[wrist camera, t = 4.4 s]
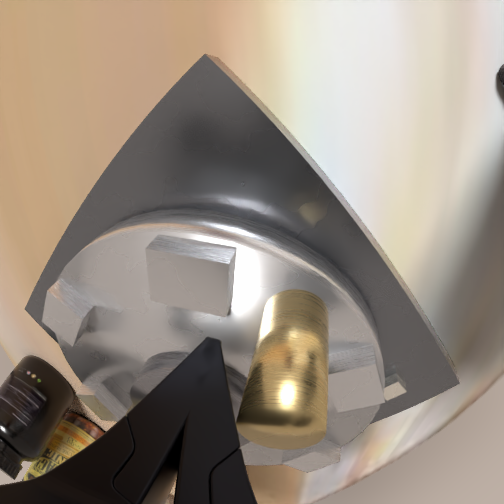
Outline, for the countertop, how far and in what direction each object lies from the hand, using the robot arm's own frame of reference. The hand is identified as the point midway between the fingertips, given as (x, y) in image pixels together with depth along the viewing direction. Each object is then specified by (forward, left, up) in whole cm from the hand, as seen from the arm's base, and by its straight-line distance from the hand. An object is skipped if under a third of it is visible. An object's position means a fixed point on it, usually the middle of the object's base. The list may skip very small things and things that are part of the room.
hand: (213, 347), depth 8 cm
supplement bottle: (+27, -2, -7) cm, 28 cm away
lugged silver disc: (+6, +3, -5) cm, 8 cm away
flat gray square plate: (+6, +3, -6) cm, 9 cm away
